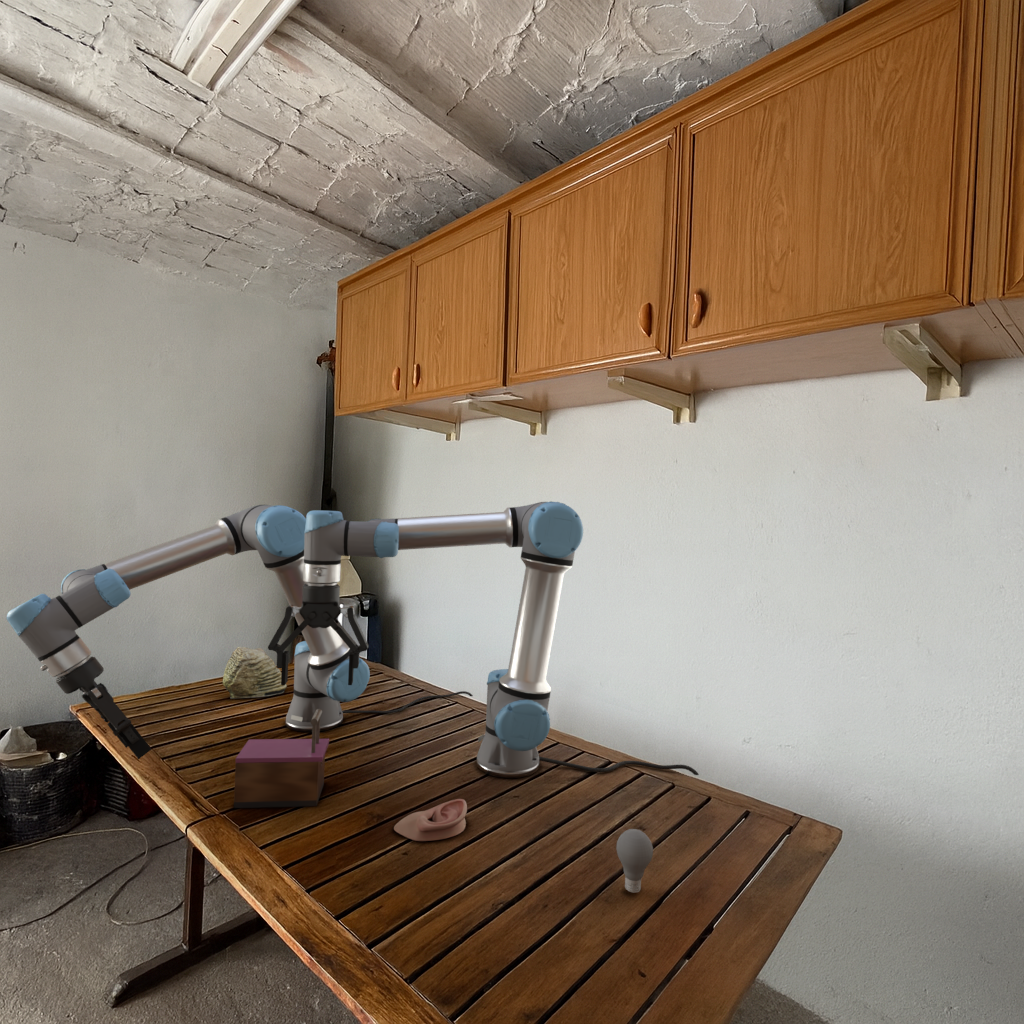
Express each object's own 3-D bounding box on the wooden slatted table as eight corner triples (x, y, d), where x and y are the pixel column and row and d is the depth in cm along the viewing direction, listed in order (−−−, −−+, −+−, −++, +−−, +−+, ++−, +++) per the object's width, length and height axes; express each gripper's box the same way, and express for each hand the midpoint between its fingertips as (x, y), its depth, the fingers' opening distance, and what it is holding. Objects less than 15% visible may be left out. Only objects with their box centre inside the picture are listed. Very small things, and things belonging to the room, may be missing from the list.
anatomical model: (388, 815, 119) (410, 788, 130) (387, 836, 119) (409, 808, 130) (456, 826, 116) (472, 797, 127) (455, 847, 116) (471, 817, 128)
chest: (323, 784, 140) (325, 743, 140) (316, 806, 130) (318, 762, 130) (247, 785, 137) (248, 744, 137) (233, 808, 127) (235, 763, 127)
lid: (329, 742, 140) (330, 705, 139) (322, 761, 130) (323, 721, 130) (248, 743, 137) (250, 705, 137) (235, 763, 127) (236, 722, 127)
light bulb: (610, 879, 108) (613, 822, 108) (644, 879, 109) (647, 822, 109) (619, 902, 102) (622, 840, 102) (655, 901, 103) (658, 840, 103)
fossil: (218, 695, 195) (220, 647, 195) (278, 685, 208) (279, 640, 207) (228, 703, 189) (230, 653, 188) (289, 692, 201) (290, 645, 201)
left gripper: (48, 674, 133) (110, 751, 138) (60, 684, 114) (131, 773, 119) (85, 651, 137) (143, 727, 142) (102, 658, 118) (169, 744, 124)
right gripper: (255, 584, 128) (251, 688, 129) (380, 587, 132) (376, 688, 132) (264, 579, 136) (260, 678, 136) (382, 582, 139) (378, 678, 140)
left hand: (138, 748), depth 131 cm, fingers open, 13 cm apart
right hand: (317, 683), depth 134 cm, fingers open, 13 cm apart
